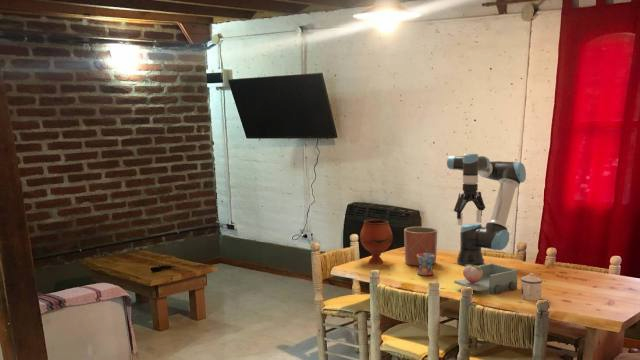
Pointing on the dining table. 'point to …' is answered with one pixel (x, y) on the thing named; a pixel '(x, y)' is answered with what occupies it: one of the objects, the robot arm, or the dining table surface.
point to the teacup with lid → (531, 287)
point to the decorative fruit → (472, 273)
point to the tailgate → (471, 285)
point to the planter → (419, 243)
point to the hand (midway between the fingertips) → (469, 223)
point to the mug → (425, 264)
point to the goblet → (376, 238)
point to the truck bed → (498, 278)
